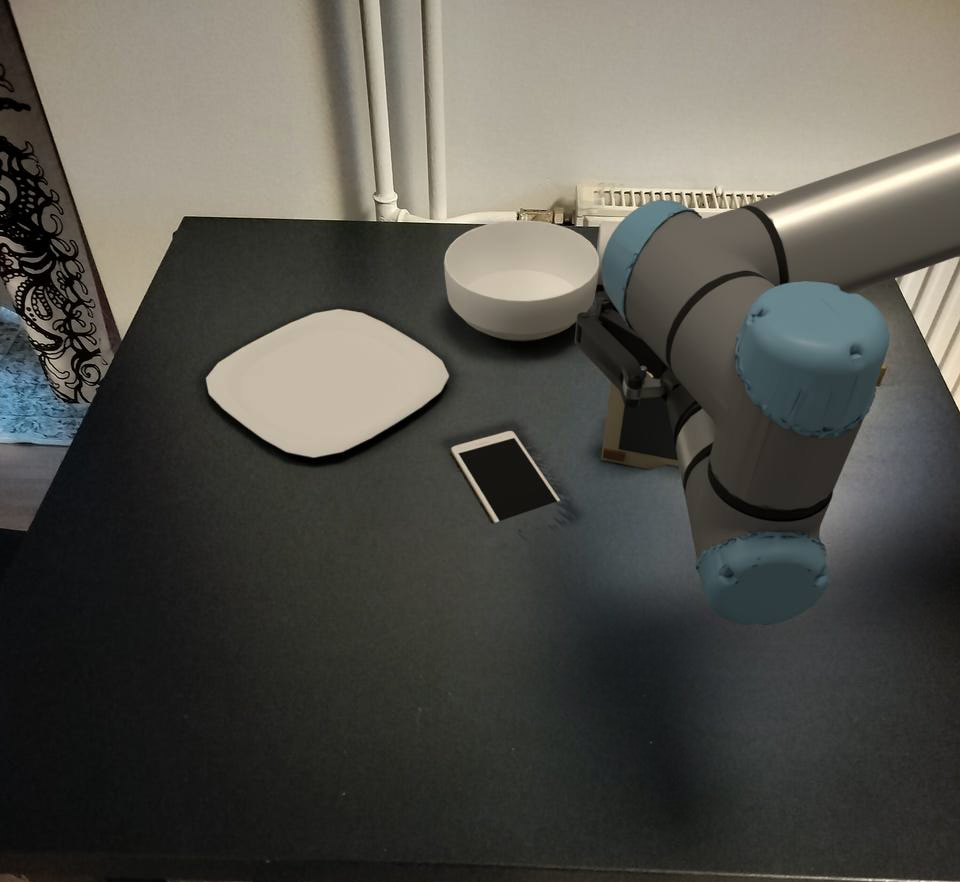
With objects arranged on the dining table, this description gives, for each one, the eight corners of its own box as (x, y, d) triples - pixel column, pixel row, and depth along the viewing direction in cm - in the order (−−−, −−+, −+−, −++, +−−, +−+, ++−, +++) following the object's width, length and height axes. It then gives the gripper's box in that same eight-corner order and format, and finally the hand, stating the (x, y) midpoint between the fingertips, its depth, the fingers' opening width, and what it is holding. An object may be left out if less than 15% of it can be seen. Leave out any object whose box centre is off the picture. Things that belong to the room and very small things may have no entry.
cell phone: (505, 543, 93) (505, 539, 92) (450, 451, 102) (449, 446, 101) (573, 523, 95) (573, 518, 94) (512, 433, 104) (512, 429, 103)
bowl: (623, 316, 119) (631, 255, 112) (526, 381, 110) (528, 320, 104) (514, 263, 127) (516, 205, 121) (416, 321, 119) (411, 260, 112)
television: (751, 442, 103) (777, 352, 93) (742, 489, 98) (769, 399, 88) (615, 417, 106) (627, 327, 96) (600, 461, 101) (611, 371, 91)
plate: (185, 388, 110) (181, 376, 109) (342, 306, 121) (340, 295, 120) (312, 485, 99) (310, 473, 98) (473, 385, 110) (473, 373, 108)
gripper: (550, 475, 67) (541, 317, 80) (884, 475, 66) (819, 316, 80) (557, 392, 61) (545, 235, 74) (922, 392, 61) (846, 234, 74)
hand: (687, 277), depth 77 cm, fingers open, 13 cm apart
